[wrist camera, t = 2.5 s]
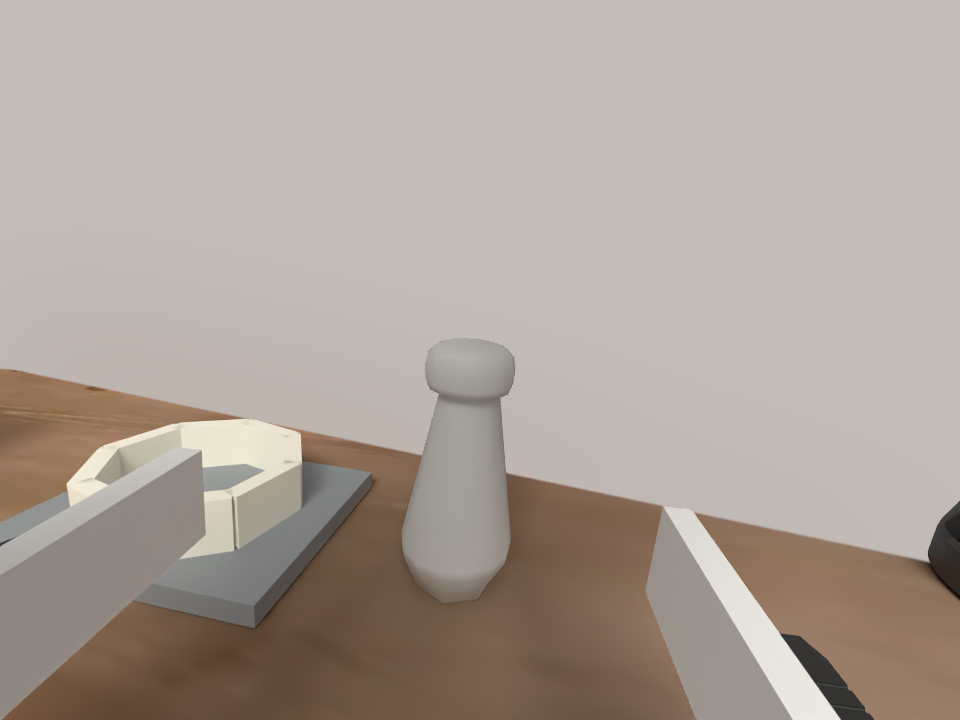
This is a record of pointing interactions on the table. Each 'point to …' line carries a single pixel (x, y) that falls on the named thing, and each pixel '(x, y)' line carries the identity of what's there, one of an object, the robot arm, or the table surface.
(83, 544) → the robot arm
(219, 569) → the slate board
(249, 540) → the ring holder
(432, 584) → the salt shaker
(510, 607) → the table surface
